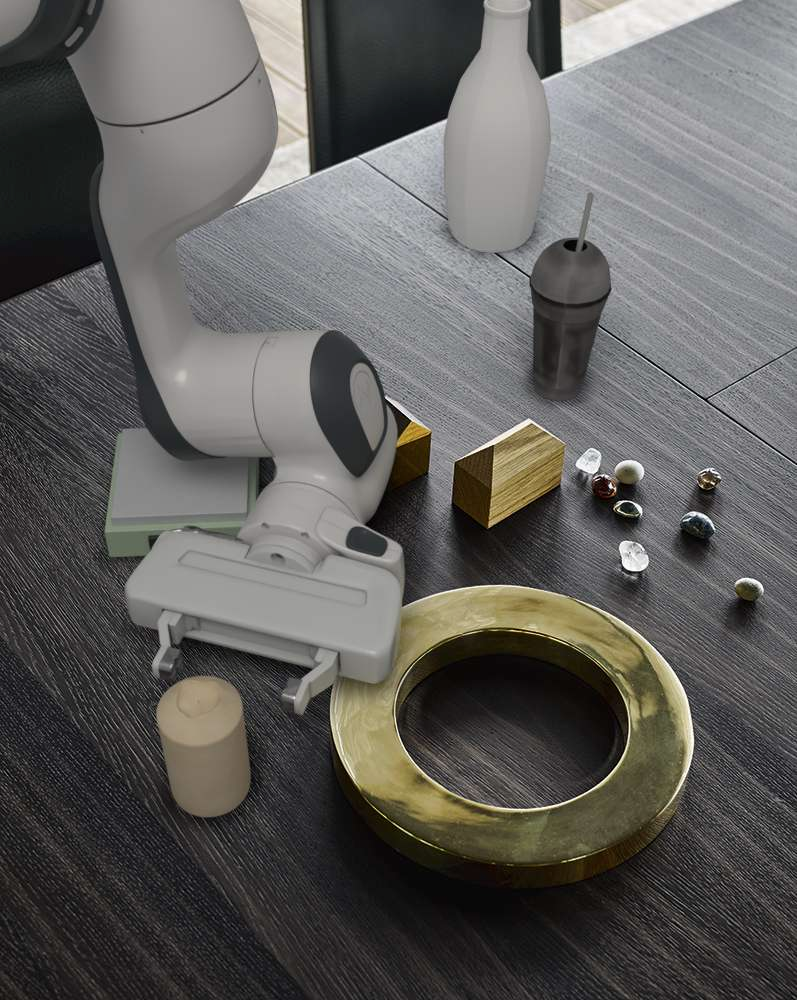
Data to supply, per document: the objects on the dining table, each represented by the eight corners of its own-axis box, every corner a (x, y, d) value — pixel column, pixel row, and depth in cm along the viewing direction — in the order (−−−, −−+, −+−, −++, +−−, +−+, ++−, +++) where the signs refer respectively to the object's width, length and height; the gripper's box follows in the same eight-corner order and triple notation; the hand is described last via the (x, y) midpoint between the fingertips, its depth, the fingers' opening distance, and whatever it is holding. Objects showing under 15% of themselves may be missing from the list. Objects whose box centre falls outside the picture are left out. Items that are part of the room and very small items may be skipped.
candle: (155, 779, 87) (136, 690, 80) (222, 737, 89) (209, 647, 82) (200, 833, 84) (184, 746, 77) (267, 788, 86) (257, 700, 79)
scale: (109, 560, 102) (101, 526, 99) (122, 458, 110) (115, 424, 108) (257, 554, 102) (254, 520, 100) (259, 453, 111) (256, 419, 108)
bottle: (538, 206, 142) (561, -21, 124) (544, 261, 134) (570, 27, 116) (439, 204, 142) (448, -23, 124) (439, 259, 134) (449, 25, 116)
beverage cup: (502, 383, 119) (519, 195, 105) (555, 352, 122) (578, 167, 108) (558, 420, 115) (584, 231, 101) (611, 388, 118) (643, 200, 104)
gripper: (164, 492, 95) (79, 626, 85) (423, 551, 91) (366, 698, 81) (173, 550, 99) (94, 683, 90) (421, 608, 95) (366, 754, 86)
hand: (225, 691), depth 86 cm, fingers open, 8 cm apart
